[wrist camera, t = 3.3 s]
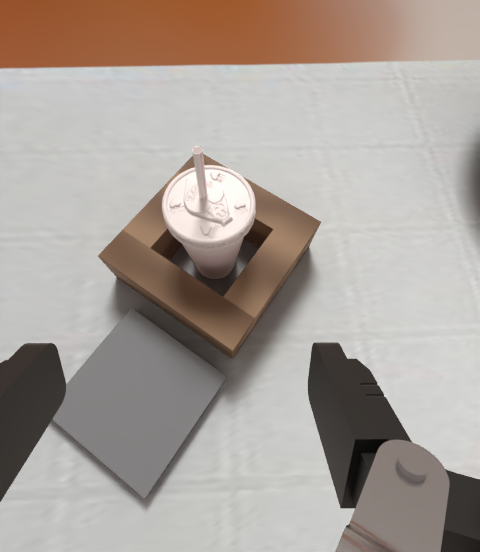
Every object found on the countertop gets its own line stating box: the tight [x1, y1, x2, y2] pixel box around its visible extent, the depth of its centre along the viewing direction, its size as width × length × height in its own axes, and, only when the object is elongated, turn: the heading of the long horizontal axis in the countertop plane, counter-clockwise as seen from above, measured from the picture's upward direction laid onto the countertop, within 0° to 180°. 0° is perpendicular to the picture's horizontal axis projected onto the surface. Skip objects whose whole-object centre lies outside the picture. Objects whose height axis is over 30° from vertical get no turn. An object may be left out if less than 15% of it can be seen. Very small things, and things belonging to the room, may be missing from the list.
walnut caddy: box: [98, 154, 321, 359], centre depth 29 cm, size 13×13×4 cm
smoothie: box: [162, 146, 256, 279], centre depth 24 cm, size 6×6×14 cm
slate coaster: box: [52, 308, 227, 499], centre depth 26 cm, size 10×10×1 cm
